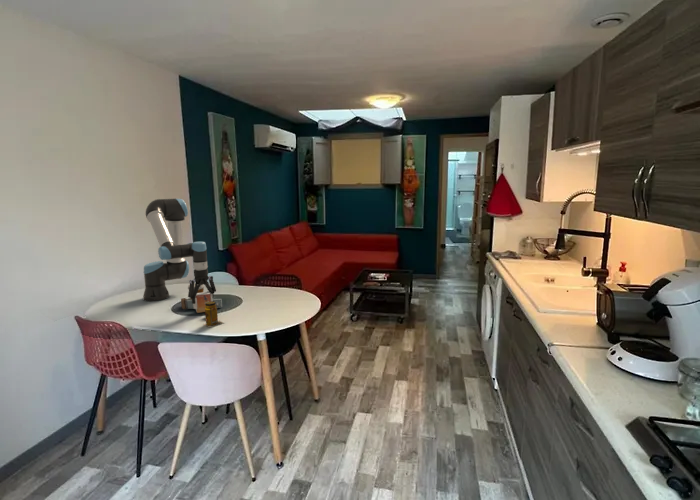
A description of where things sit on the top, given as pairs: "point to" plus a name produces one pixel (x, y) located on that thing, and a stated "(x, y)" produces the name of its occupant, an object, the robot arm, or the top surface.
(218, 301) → the door
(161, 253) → the robot arm
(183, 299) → the brown upright pieces
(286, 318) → the top surface
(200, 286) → the disposable coffee cup
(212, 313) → the condiment
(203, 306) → the small box
